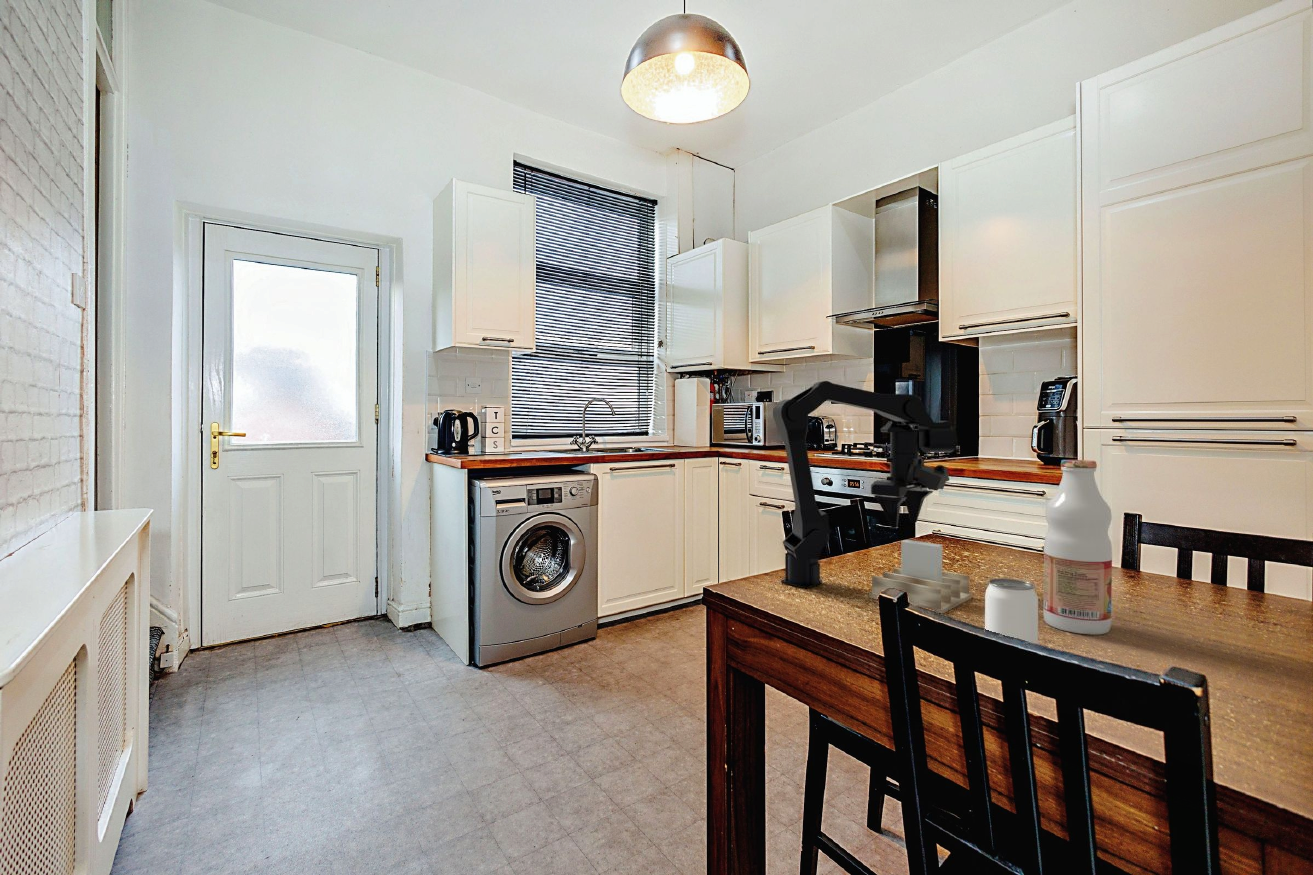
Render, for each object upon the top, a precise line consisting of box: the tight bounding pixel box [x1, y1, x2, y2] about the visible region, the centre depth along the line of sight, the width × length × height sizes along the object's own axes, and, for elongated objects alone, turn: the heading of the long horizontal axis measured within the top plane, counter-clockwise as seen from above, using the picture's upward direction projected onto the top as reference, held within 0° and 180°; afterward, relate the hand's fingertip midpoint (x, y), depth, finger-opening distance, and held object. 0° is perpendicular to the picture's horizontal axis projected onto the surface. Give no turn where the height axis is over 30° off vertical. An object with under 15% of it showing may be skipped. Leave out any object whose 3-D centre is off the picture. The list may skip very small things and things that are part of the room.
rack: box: [868, 567, 974, 615], centre depth 118 cm, size 14×14×4 cm
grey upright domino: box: [900, 539, 943, 583], centre depth 118 cm, size 7×2×10 cm, turn 43°
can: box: [984, 577, 1039, 645], centre depth 85 cm, size 6×6×12 cm
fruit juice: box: [1042, 459, 1113, 636], centre depth 101 cm, size 9×9×28 cm
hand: (904, 524), depth 130 cm, fingers open, 9 cm apart
